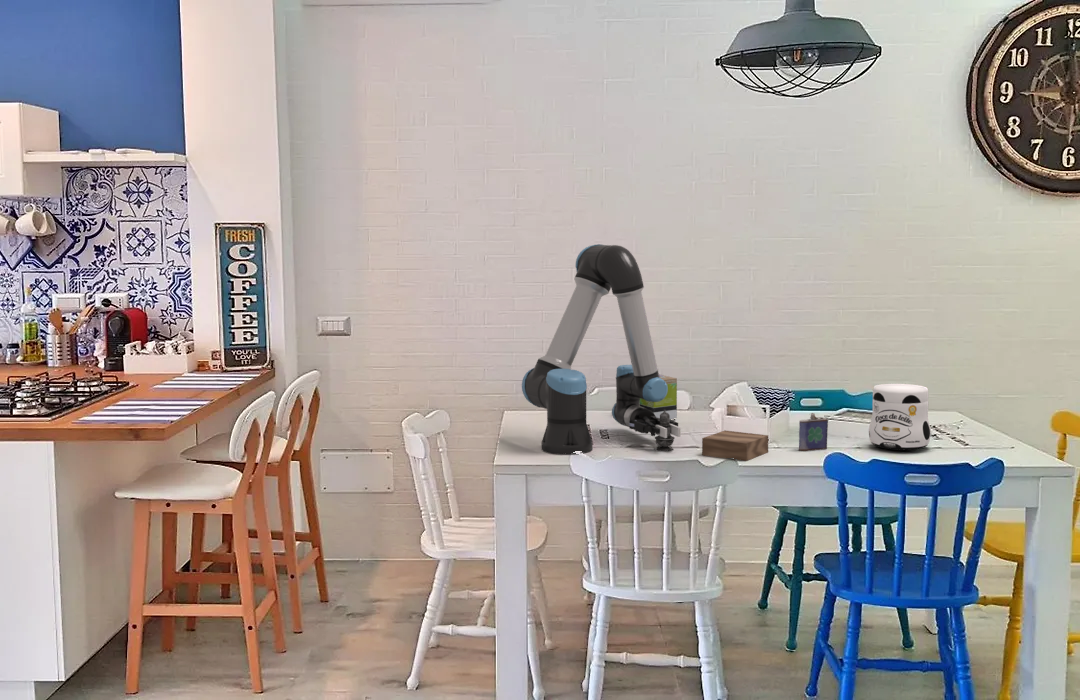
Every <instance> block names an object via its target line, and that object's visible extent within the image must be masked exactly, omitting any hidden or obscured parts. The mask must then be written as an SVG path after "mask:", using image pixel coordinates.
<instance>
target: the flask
mask: <svg viewBox="0 0 1080 700" xmlns="http://www.w3.org/2000/svg"><path fill="white" fill-rule="evenodd" d="M828 423H829V419H828V418H826V417H822V416H816V414H815V412H811V413H810V417H809V419H808V418H807V419H801V420H799V429H798V430H799V431H798V433H799V434H798V450H799V452H800V451H801V452H808V451H810V452H811V451H816V450H817V451H820V450H827V449H828V430H829V429H828V428H829V427H828V425H829V424H828Z"/></svg>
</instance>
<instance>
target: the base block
mask: <svg viewBox="0 0 1080 700" xmlns="http://www.w3.org/2000/svg"><path fill="white" fill-rule="evenodd" d="M701 438H702V439H701V441H702V442H701V446H702V449H701V451H702V452H701V453H702V454H701V455H702V456H703V457H704V456H706V457H714V458H721V459H727V458H734V459H733V460H735V459H737V460H736V461H743V462H748V461H751V460H753V459H755V458H758V457H760V456H763V455H764V454H767V453H769V435H768V434H760V433H751V432H742V431H732V430H725V429H724V430H722V431H720V432H719V431H718V432H716V433H714V434H710V435H707V436H704V437H701Z"/></svg>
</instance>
